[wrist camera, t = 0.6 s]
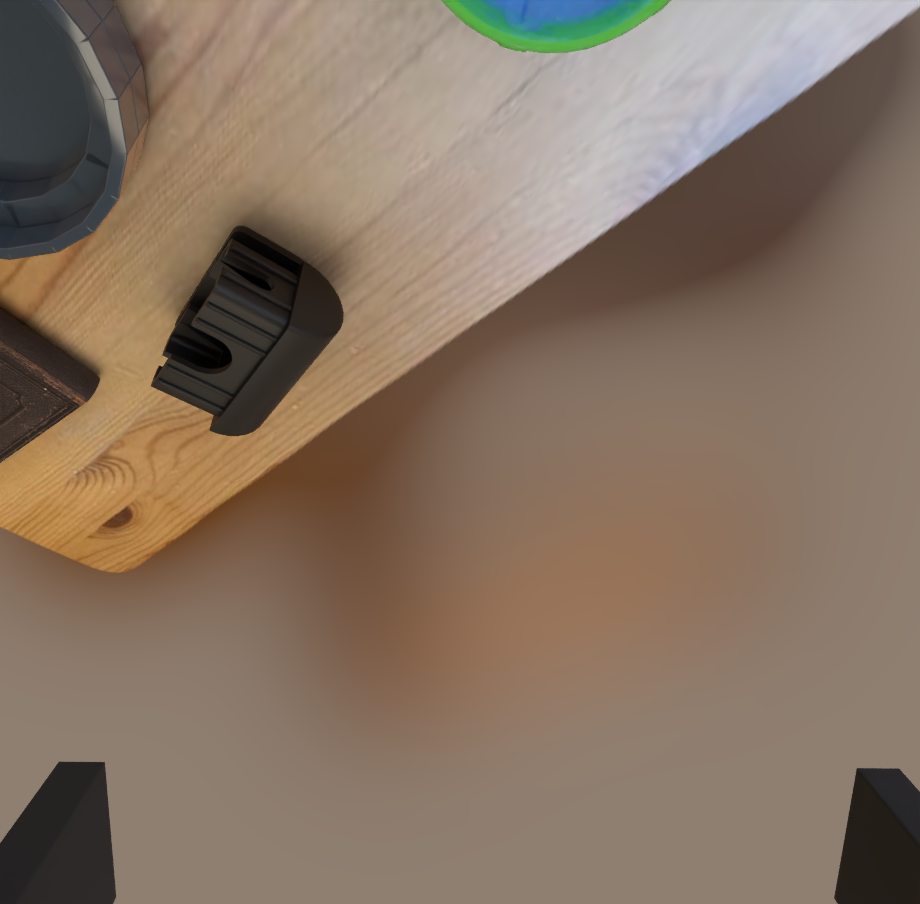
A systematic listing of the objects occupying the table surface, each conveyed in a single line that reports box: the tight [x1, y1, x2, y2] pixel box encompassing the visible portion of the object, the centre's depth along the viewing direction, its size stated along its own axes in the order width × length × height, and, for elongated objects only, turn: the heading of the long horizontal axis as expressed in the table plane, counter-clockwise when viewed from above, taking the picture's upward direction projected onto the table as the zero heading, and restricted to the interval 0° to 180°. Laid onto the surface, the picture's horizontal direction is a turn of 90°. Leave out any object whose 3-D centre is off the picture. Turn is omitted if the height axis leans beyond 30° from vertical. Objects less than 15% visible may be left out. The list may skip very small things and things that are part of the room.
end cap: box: [151, 226, 343, 436], centre depth 48 cm, size 10×7×7 cm
